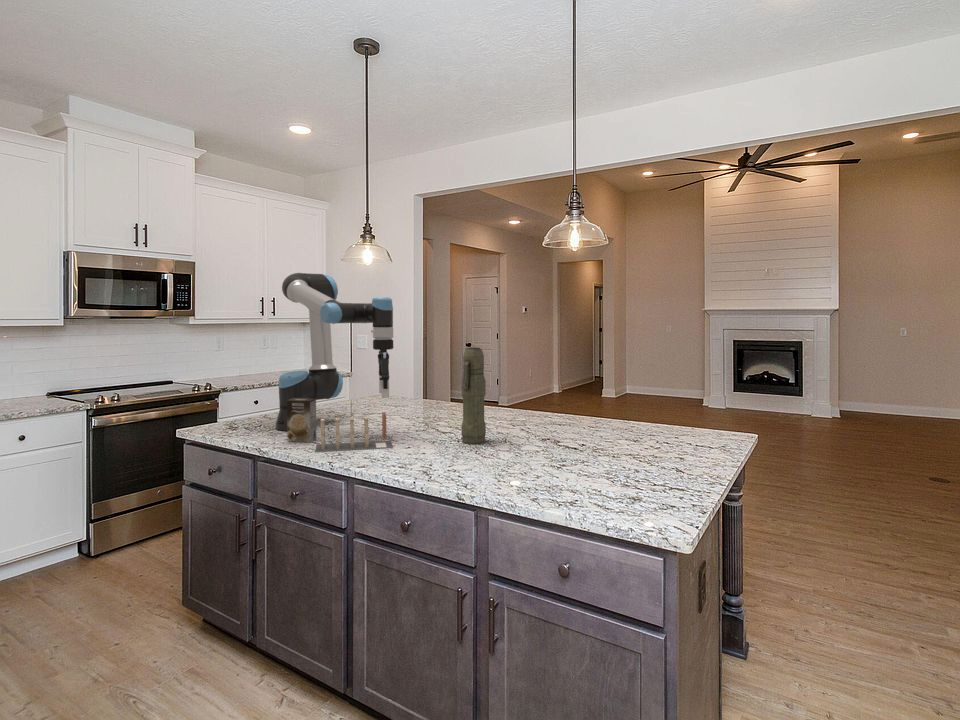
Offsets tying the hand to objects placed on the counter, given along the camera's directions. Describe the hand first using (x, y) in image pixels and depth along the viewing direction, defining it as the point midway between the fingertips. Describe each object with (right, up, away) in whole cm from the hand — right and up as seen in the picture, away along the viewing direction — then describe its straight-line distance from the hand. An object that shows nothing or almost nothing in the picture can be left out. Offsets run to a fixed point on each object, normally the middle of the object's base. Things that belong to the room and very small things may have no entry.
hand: (384, 395), depth 208 cm
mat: (-9, -18, -11) cm, 23 cm away
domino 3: (-9, -17, -12) cm, 23 cm away
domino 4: (-4, -17, -11) cm, 21 cm away
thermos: (+34, -17, -3) cm, 38 cm away
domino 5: (0, -17, +2) cm, 17 cm away
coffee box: (-30, -17, -3) cm, 35 cm away
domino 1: (-19, -18, -14) cm, 30 cm away
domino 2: (-14, -18, -13) cm, 26 cm away
